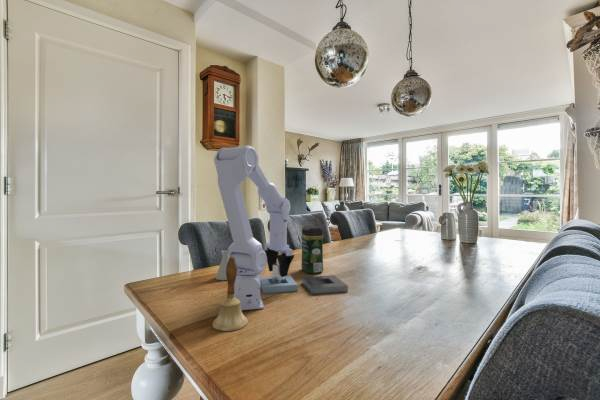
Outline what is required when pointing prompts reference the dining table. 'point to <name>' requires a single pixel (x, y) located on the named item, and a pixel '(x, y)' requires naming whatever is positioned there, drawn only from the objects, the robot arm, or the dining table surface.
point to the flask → (223, 266)
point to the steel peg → (277, 274)
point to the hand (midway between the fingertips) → (277, 273)
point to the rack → (278, 285)
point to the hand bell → (230, 304)
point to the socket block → (324, 284)
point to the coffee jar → (312, 249)
